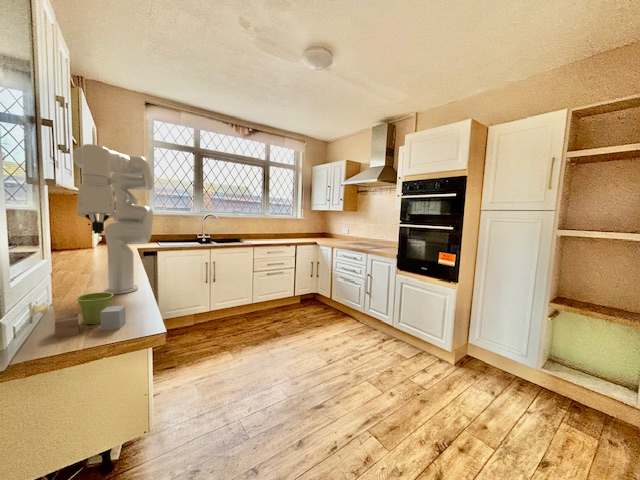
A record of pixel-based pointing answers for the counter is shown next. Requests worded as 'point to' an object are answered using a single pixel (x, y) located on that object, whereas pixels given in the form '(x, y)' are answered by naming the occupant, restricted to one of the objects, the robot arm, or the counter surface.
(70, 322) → the walnut block
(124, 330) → the counter surface
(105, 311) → the slate block
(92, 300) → the plant pot
